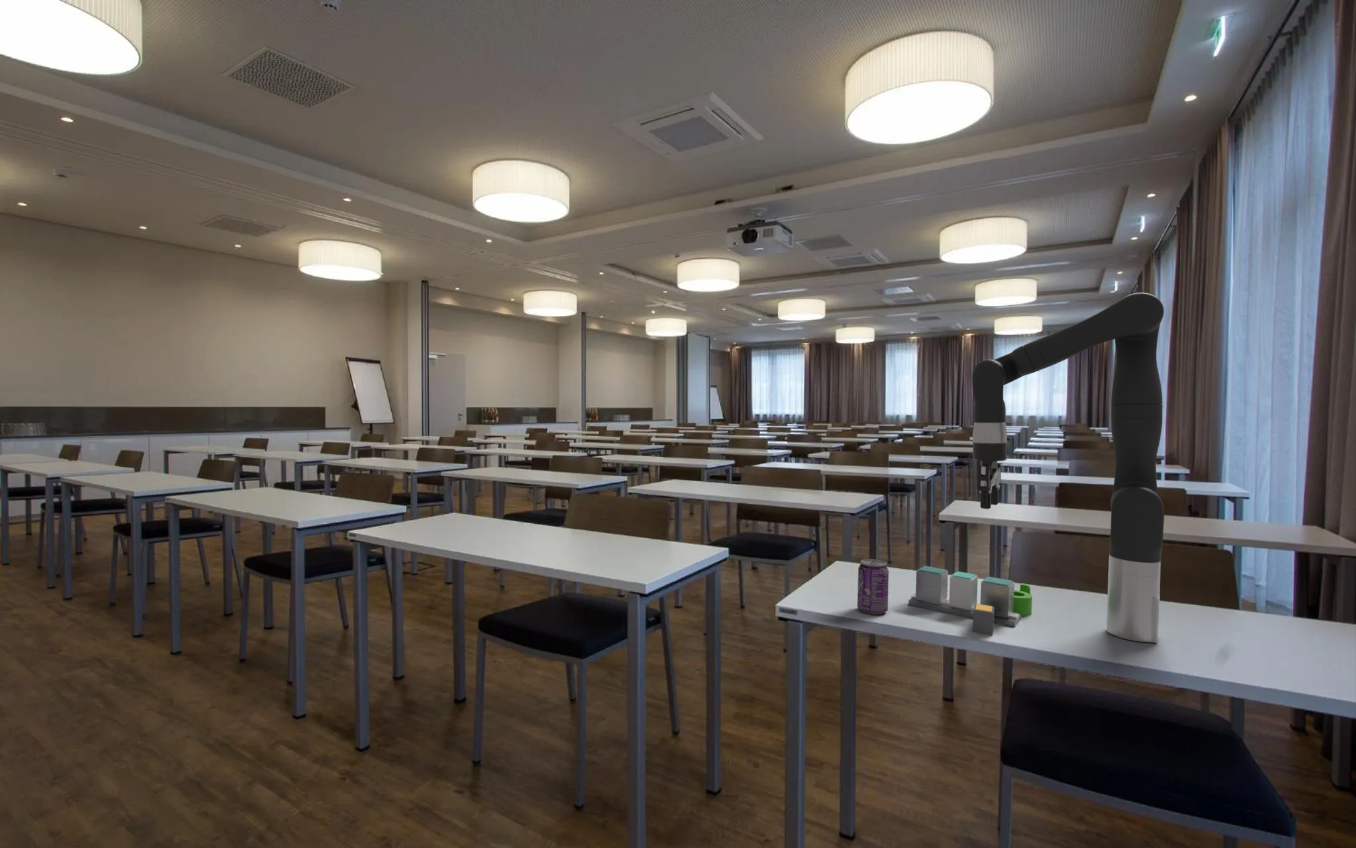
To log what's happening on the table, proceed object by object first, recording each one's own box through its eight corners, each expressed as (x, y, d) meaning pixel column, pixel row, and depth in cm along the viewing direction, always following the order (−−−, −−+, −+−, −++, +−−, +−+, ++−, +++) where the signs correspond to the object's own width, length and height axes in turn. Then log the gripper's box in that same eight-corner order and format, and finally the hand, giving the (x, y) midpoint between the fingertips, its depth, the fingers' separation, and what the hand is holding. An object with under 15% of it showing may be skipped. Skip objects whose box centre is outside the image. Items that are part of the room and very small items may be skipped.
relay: (993, 628, 141) (994, 606, 141) (992, 635, 137) (993, 612, 137) (974, 625, 143) (974, 603, 143) (972, 632, 139) (973, 609, 139)
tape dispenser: (1031, 619, 149) (1032, 599, 149) (998, 613, 152) (998, 595, 152) (1031, 602, 162) (1031, 584, 162) (1000, 597, 165) (1000, 580, 165)
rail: (1020, 619, 148) (1022, 581, 147) (1014, 627, 142) (1015, 587, 142) (917, 598, 163) (918, 563, 162) (908, 604, 157) (909, 568, 157)
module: (976, 603, 153) (977, 574, 153) (971, 609, 149) (972, 579, 148) (955, 599, 156) (956, 570, 156) (949, 605, 152) (950, 575, 152)
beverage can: (862, 604, 157) (864, 557, 156) (891, 610, 153) (892, 561, 152) (853, 611, 151) (854, 562, 151) (882, 618, 147) (883, 567, 147)
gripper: (1000, 442, 146) (1000, 511, 146) (1012, 440, 157) (1012, 504, 157) (966, 441, 151) (966, 508, 151) (979, 439, 162) (979, 502, 162)
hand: (989, 506), depth 154 cm, fingers open, 8 cm apart
